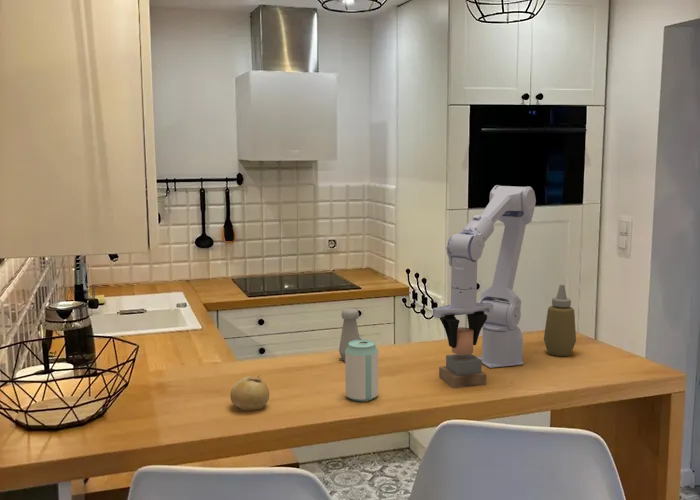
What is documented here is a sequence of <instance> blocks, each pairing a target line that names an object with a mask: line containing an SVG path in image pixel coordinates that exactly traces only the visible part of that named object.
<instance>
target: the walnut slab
mask: <svg viewBox="0 0 700 500" xmlns="http://www.w3.org/2000/svg"><path fill="white" fill-rule="evenodd" d="M438 378H439V379H441V380H442V381H443V382H445V384H447V385H448V386H449V387H450V388H452V389H454V388H455V389H462V388H469V387H470V388H472V387H473V388H474V387H480V386H481V387H482V386H486V385H487V374H486V372H484V371H482V373H477V374H468V375H460V376H457V375H456V374H454V373H453V372H451V371H450V370H448V369H447V368H446V365H445V366H444V365H443V366H439V367H438Z"/></svg>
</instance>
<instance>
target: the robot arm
mask: <svg viewBox="0 0 700 500" xmlns="http://www.w3.org/2000/svg"><path fill="white" fill-rule="evenodd" d="M536 203H537V199H536V194H535V190H534V189H533V188H532V186H528V185H527V186H511V185H501V184H496V185H494V187H492V189H491V190H490V192H489V202H488V204H487V205H486V206H485V208H484V210H483V211H482V213H481V214H475V215H473V217H472V218H471V219H470V220H469V221H468V222H467V223H466V224H465V226H464V227H463V228H462V229H461V231H460V232H458V233H454V234H453V235H450V237H449V238H448V239H447V244H446V247H445V250H446V254H447V256H448V265H449V266H450V268H451V271H450V272H451V273H450V281H451V282H450V304H447V305H444V306H443V305H442V306H438V307H433V309H432V317H434V318H436V319H439V320H440V322H441V324H442V326H443V328H444V330H445V333H446V338H447V340H448V346H449V347H450V348H451V349H452V348H456V345H457V330H458V328H459V324H460V320H459V319H457V317H456V316H462V315H466V317H467V324H468V328H470V329H473V346H476V345H477V343H478V339H479V335H480V333H481V332H482V334H481V335H482V339H481V342H482V344H481V345H482V346H481V356H480V355H479V356H476V357H477V358H479V359H481V360H482V364H483V365H485V366H486V367H488V368H490V369H492V368H501V367H502V368H503V367H510V366H511V367H512V366H521V365H524V364H525V362H524V361H523V355H524V354H523V349H524V348H523V347H524V346H523V345H524V338H523V332H522V330H521V328H520V327H518V325H519V324H520V321H521V317H522V316H521V314H522V312H521V306H522V300H521V298H520V297H519V296H518V295H517V294H516V292H515V291H514V290H513V288H514V284H515V279H516V274H517V270H518V265H519V260H520V255H521V250H522V245H523V241H524V237H525V232H526V226H527V225H528V224H531V222H532V221H533V217H534V213H535V208H536ZM497 221H499V222H501V223H503V225H504V229H503V233H502V239H501V242H500V248H499V253H498V257H497V261H496V265H495V271H494V275H493V280H492V284H491V286H490V287H488V288H487V289H485V290H483V291H482V292H481V293H480V296H479V300H478V301H477V292H478V291H477V287H478V284H477V283H478V260H479V259H481V257H482V254H483V251H484V248H485V243H486V242H487V240H488V239H489V238H490V236H491V235H492V234H493V233H494V230H495V225H494V224H495V223H496V222H497ZM481 330H482V331H481Z"/></svg>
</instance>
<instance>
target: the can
mask: <svg viewBox="0 0 700 500" xmlns="http://www.w3.org/2000/svg"><path fill="white" fill-rule="evenodd" d="M344 363H345V365H344V366H345V371H344V372H345V396H347V398H349V399H350V400H352V401H355V402H369V401H372V400H374V399H375V398H376V397H378V395H379V350H378V347H377V346H376V343H375V342H374V341H373V340H369V339H360V340H353V341H350V342H349V343H348V347H347V349H346V350H345V361H344ZM373 398H374V399H373ZM368 400H369V401H368Z"/></svg>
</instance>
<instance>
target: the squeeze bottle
mask: <svg viewBox="0 0 700 500" xmlns="http://www.w3.org/2000/svg"><path fill="white" fill-rule="evenodd" d="M571 306H572V299H570V298H568V297H567V291H566V287H565V284H559V286H558V290H557V293H556V297H552V299H551V306H548V308H547V313H546V320H545V327H544V333H543V335H544V336H543V342H544V345H545V348H546V352H547V353H548V354H550V355H552V356H556V357H568V356H570V355H572V352H573V350H574V347H575V345H576V342H577V335H576V319H575V318H576V316H575V309H574V308H573V307H571Z"/></svg>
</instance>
